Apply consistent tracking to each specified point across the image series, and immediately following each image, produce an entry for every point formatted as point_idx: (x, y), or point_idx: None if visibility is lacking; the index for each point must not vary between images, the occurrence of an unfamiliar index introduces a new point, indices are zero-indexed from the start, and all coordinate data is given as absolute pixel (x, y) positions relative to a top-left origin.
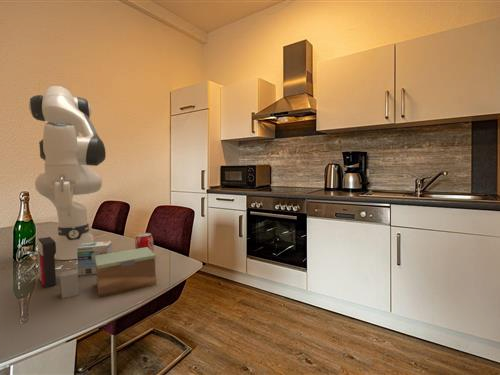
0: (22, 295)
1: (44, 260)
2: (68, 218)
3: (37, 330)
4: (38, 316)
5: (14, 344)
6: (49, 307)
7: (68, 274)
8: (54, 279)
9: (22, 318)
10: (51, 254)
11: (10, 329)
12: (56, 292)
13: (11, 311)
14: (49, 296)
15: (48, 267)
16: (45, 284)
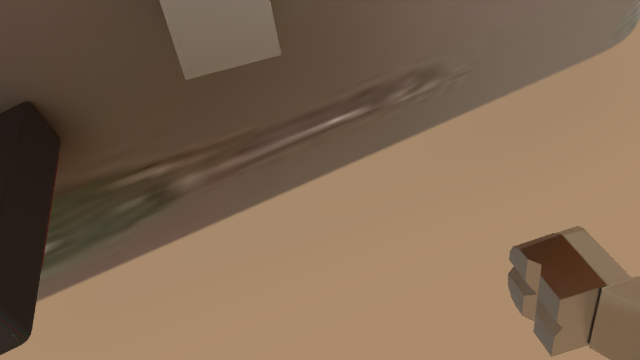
0: (142, 199)
1: (44, 242)
2: (603, 249)
3: (527, 4)
4: (408, 44)
5: (575, 43)
6: (338, 29)
7: (259, 16)
8: (28, 123)
9: (394, 97)
10: (9, 237)
11: (462, 100)
12: (153, 59)
13: (307, 164)
14: None
15: (38, 193)
16: (58, 149)
